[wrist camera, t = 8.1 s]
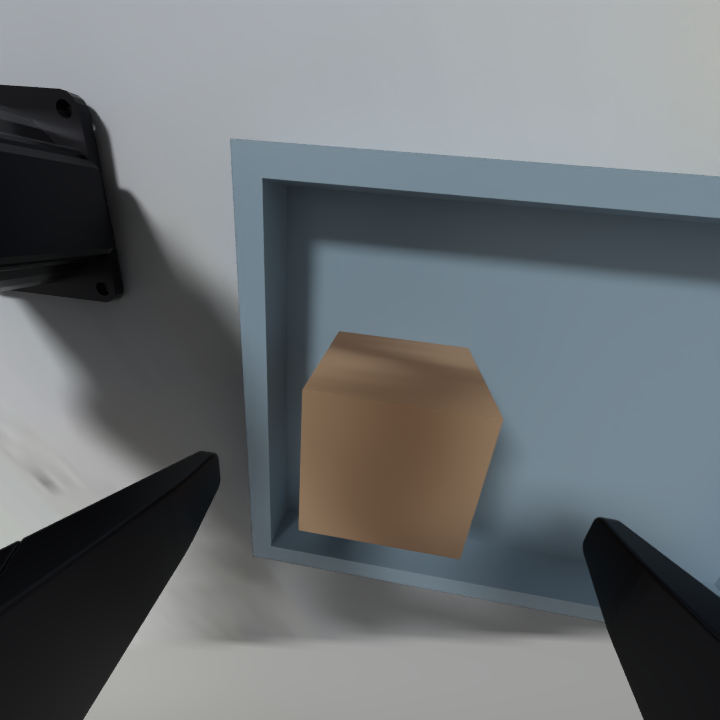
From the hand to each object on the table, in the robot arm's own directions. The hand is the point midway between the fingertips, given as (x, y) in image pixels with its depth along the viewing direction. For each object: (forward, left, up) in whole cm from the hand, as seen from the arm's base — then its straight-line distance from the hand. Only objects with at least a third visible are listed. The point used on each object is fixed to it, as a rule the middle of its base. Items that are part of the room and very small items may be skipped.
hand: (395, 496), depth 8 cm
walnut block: (0, 0, -5) cm, 5 cm away
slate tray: (+5, 0, -6) cm, 7 cm away
